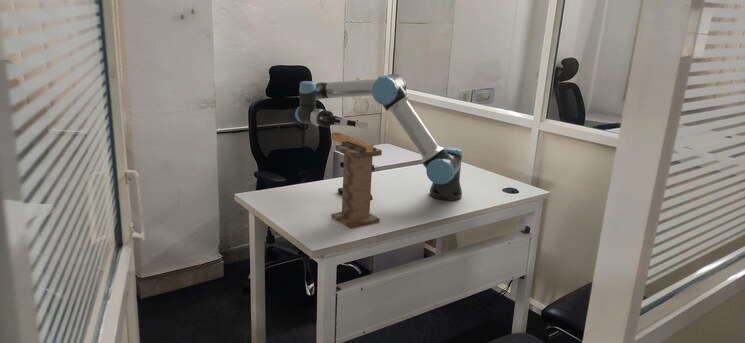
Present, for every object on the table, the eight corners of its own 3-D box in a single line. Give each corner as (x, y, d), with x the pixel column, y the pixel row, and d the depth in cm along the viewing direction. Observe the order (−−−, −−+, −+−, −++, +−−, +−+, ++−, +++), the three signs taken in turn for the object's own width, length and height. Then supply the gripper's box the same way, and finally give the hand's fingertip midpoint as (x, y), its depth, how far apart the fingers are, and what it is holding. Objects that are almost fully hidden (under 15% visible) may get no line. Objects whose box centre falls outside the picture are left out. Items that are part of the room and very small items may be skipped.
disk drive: (337, 194, 250) (353, 203, 238) (337, 188, 250) (353, 197, 237) (356, 191, 256) (373, 200, 244) (356, 185, 255) (373, 194, 243)
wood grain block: (331, 139, 222) (331, 133, 221) (338, 138, 224) (338, 132, 223) (365, 152, 204) (366, 146, 203) (373, 151, 206) (373, 145, 205)
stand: (331, 217, 220) (333, 142, 211) (359, 211, 228) (362, 139, 219) (351, 228, 209) (354, 150, 200) (379, 222, 217) (383, 146, 209)
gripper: (339, 128, 257) (373, 135, 244) (301, 123, 237) (335, 130, 224) (342, 113, 256) (376, 119, 243) (303, 106, 237) (338, 112, 223)
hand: (356, 124), depth 233 cm, fingers open, 13 cm apart
